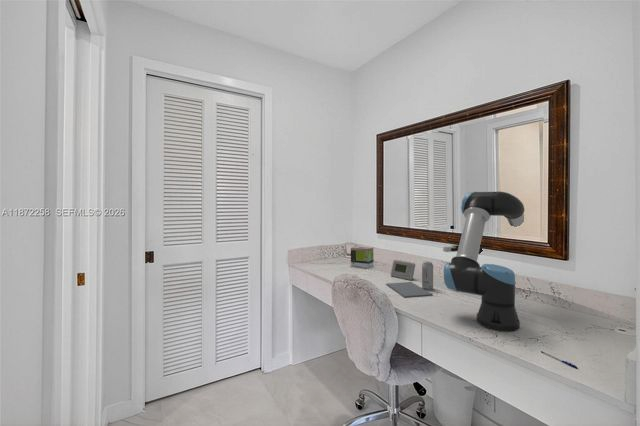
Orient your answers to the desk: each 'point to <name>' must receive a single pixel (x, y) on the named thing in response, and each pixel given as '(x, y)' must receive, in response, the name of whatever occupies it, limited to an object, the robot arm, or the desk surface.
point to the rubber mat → (408, 289)
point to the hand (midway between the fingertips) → (444, 249)
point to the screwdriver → (561, 360)
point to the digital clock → (403, 269)
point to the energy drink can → (427, 275)
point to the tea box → (362, 257)
